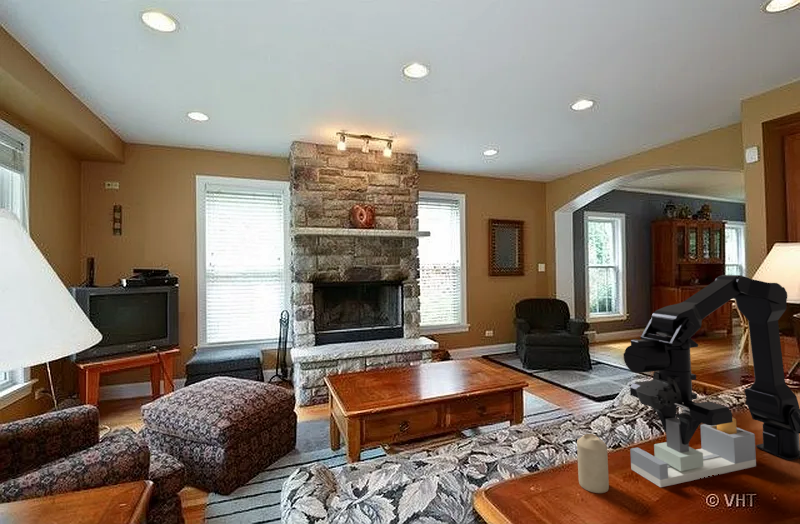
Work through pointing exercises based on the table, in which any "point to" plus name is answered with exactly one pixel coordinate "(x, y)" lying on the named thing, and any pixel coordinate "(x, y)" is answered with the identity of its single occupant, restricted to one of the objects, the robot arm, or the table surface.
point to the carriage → (677, 449)
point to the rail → (717, 458)
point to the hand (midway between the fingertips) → (677, 440)
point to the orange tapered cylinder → (728, 427)
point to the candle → (592, 464)
